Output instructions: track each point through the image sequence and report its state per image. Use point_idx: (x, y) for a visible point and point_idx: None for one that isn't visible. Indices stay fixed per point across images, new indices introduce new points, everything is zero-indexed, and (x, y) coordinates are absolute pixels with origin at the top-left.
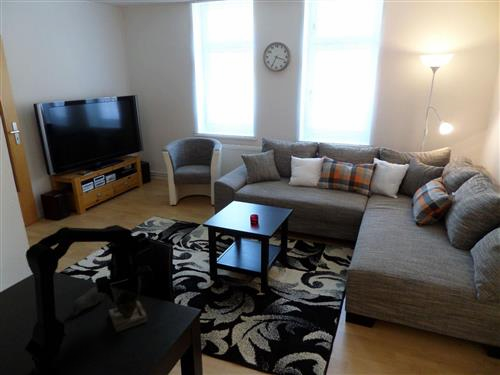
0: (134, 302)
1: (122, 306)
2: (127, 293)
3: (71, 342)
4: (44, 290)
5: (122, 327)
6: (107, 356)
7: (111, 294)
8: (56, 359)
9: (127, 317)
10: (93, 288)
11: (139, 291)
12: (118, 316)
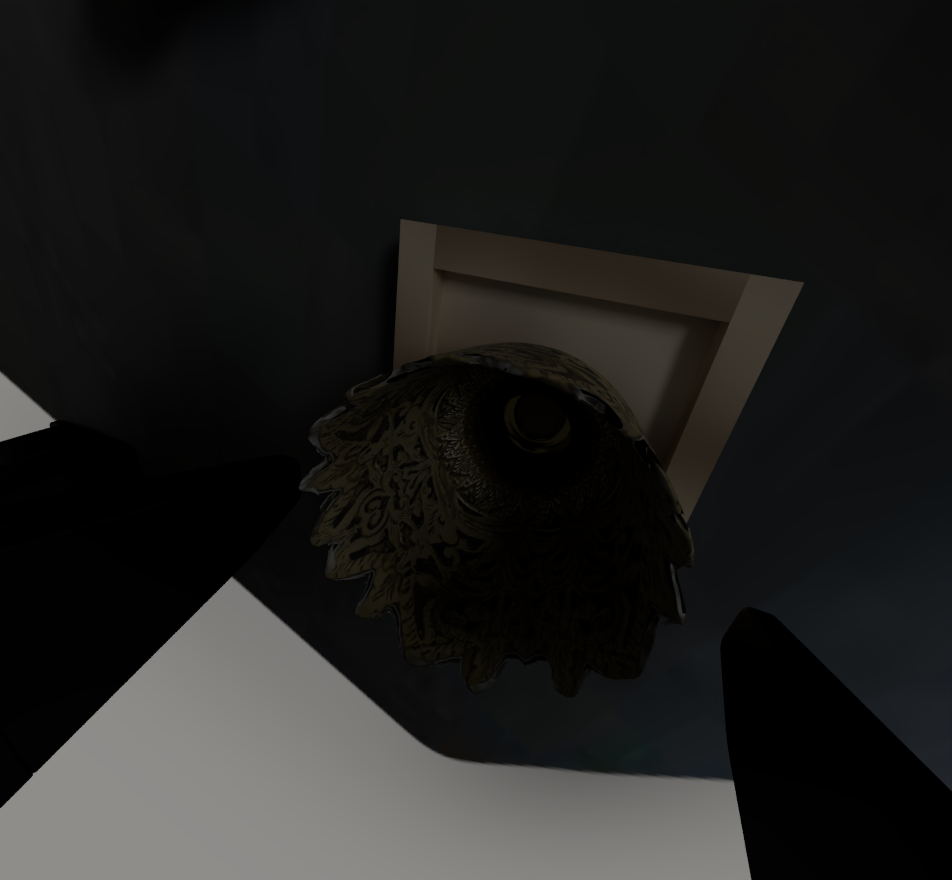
0: (556, 641)
1: (396, 584)
2: (584, 400)
3: (171, 365)
4: None
5: None
6: (326, 597)
7: (22, 757)
8: (123, 448)
9: (514, 454)
10: None
11: (739, 770)
12: None
